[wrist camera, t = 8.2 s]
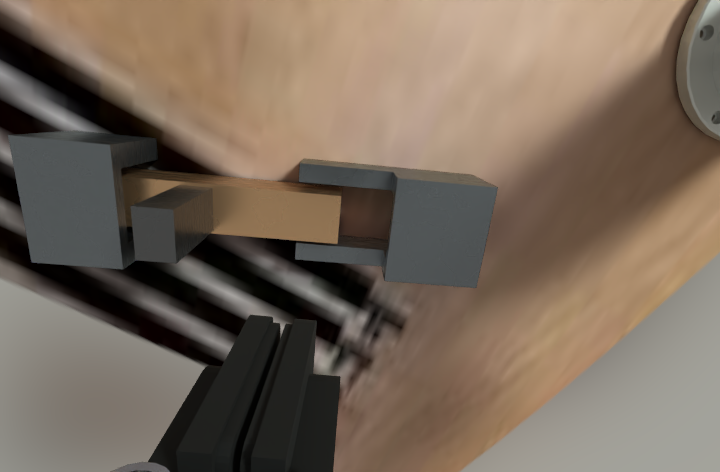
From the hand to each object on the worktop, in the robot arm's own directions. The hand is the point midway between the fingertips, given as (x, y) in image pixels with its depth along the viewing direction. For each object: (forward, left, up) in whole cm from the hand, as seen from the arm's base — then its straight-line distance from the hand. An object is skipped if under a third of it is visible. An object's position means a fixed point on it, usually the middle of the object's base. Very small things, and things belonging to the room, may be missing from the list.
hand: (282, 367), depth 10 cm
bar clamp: (+3, 0, -19) cm, 19 cm away
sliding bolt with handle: (+7, 0, -18) cm, 19 cm away
